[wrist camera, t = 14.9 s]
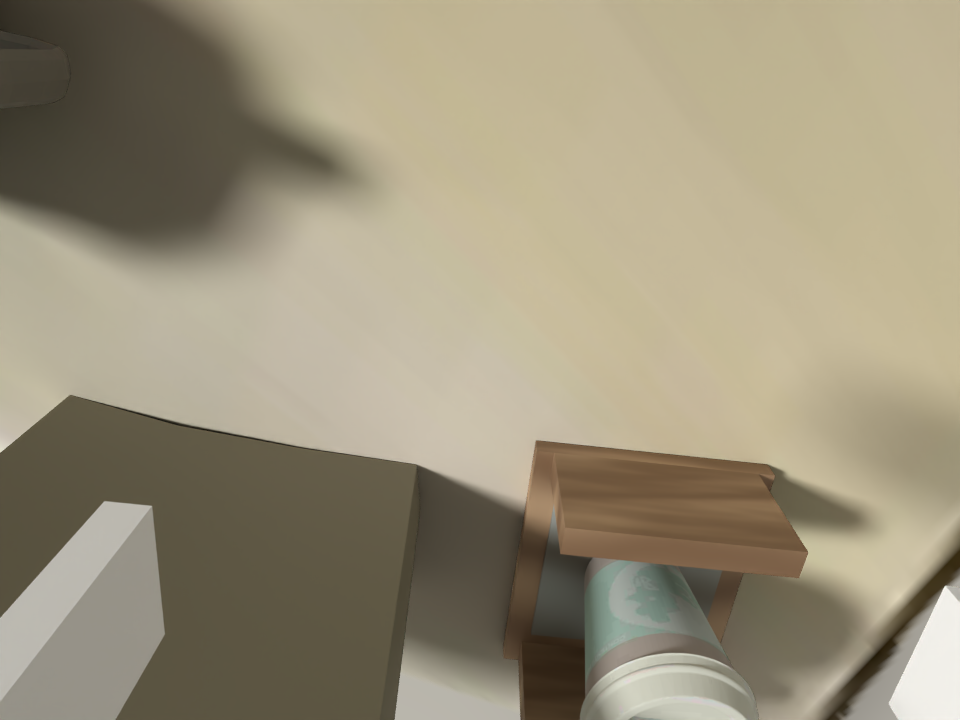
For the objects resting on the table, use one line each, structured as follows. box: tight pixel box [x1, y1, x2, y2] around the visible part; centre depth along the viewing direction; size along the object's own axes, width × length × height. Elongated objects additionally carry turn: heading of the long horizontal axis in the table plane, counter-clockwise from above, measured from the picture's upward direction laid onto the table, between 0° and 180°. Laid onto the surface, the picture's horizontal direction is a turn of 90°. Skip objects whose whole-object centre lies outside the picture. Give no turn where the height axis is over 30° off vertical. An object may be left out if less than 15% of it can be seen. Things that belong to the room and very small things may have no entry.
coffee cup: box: [580, 557, 759, 720], centre depth 37 cm, size 9×8×12 cm
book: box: [0, 395, 420, 720], centre depth 30 cm, size 22×9×28 cm, turn 77°
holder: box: [503, 441, 808, 720], centre depth 41 cm, size 16×14×8 cm
